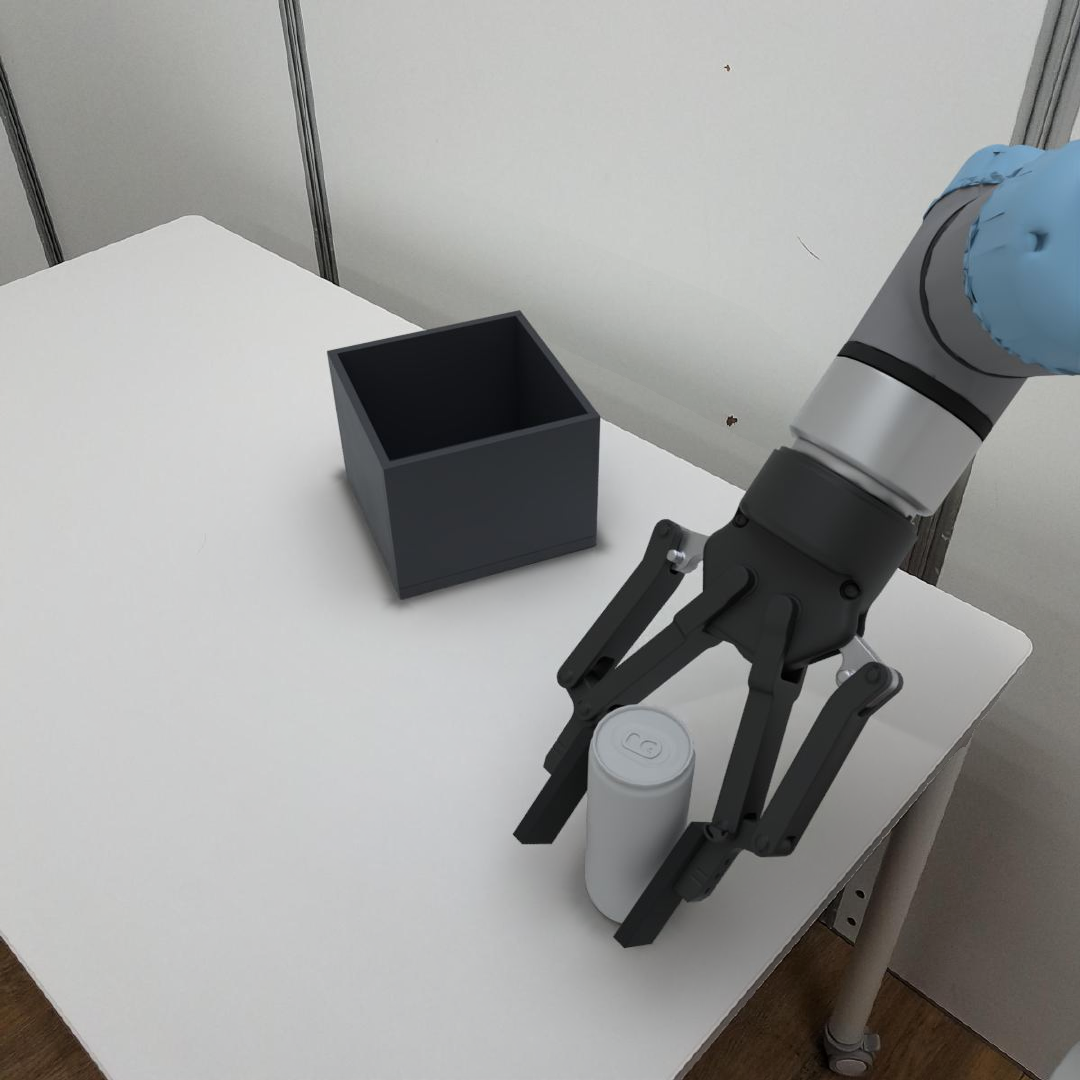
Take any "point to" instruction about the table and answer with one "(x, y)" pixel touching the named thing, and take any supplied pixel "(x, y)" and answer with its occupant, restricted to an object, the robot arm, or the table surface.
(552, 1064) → the table surface
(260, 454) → the table surface
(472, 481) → the trash bin
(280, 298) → the table surface
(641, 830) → the beverage can
